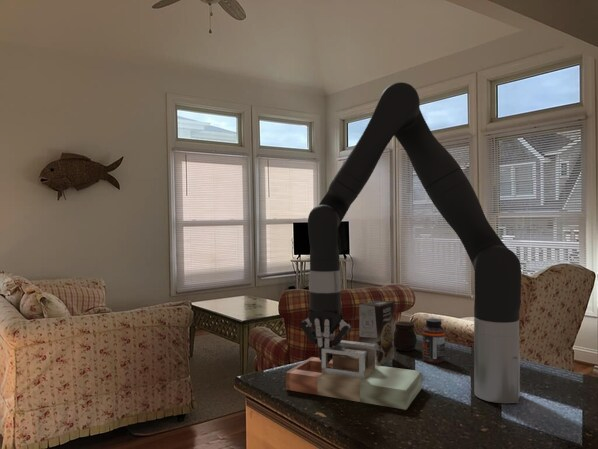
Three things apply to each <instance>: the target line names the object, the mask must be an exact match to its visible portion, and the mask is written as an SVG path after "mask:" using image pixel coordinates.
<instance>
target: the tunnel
mask: <svg viewBox="0 0 598 449" xmlns="http://www.w3.org/2000/svg"><path fill="white" fill-rule="evenodd" d="M327 353H332V355H334V354H341V355H349V356H357V357H359V371H354V370H347V369H340V368H333V367H327ZM365 356H366V369H374V370H375V369H376V344H372V343H363V342H359V341H350V340H346V339H345V340H344V339H342V340H341V342H340V343H339V344H337V345H335V346H333V347H326V346H325V347H324V348H322V374H325V375H332V376H339V377H346V378H353V379H360V380H364V379H365Z"/></svg>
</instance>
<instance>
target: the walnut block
mask: <svg viewBox="0 0 598 449" xmlns="http://www.w3.org/2000/svg"><path fill="white" fill-rule="evenodd" d="M332 360H333V368H340V369H347V370H354V371H359V357H357V356H349V355H341V354H332ZM365 370H366V356H365Z"/></svg>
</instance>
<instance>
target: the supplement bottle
mask: <svg viewBox="0 0 598 449" xmlns="http://www.w3.org/2000/svg"><path fill="white" fill-rule="evenodd" d="M425 324H426V325H425V326H424V327H423V328H422V360H423V361H424V362H427V363H432V364H440V363H443V362H444V361H445V359H446V358H445V357H446V349H445V348H446V330H445V328H444V327H443V326H442V320H441V319H440V318H427V319H426V321H425Z"/></svg>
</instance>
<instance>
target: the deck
mask: <svg viewBox="0 0 598 449" xmlns="http://www.w3.org/2000/svg"><path fill="white" fill-rule="evenodd" d="M327 367H333V359H332V360H330V362H329V363H327ZM285 390H287V391H293V392H298V393H304V394H311V395H315V396H316V395H317V396H321V397H329V398H335V399H340V400H341V399H342V400H347V401H353V402H358V403H359V402H360V403H364V404H370V405H377V406H382V407H388V408H393V409H394V408H395V409H399V410H405V411H406V410H408V408H409V407H410V405H411V404H412V402H413V401H414V400H415V398H416V397H417V395H418V394H419V393H420V391H421V390H422V371H421V370H416V369H415V370H413V369H406V368H398V367H394V366H393V367H390V366H385V365H384V366H383V365H381V366H377V365H376V369H375V370H374V369H366V370H365V379H364V380H360V379H353V378H346V377H339V376H332V375H325V374H322V362H321V360H320V359H319V357H315V356H310V357H309V358H307V359H306V360H304V361H302V362H301V363H299V364H298V365H297V364H296V365H295V366H294V367H291V369H289V370H288V371H286V372H285Z"/></svg>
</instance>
